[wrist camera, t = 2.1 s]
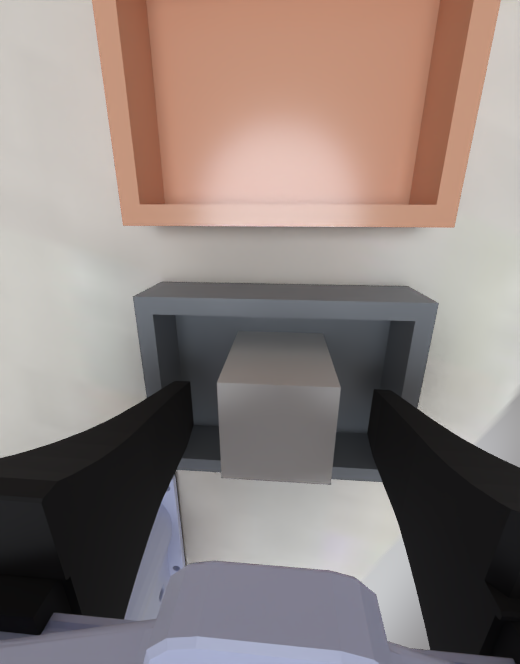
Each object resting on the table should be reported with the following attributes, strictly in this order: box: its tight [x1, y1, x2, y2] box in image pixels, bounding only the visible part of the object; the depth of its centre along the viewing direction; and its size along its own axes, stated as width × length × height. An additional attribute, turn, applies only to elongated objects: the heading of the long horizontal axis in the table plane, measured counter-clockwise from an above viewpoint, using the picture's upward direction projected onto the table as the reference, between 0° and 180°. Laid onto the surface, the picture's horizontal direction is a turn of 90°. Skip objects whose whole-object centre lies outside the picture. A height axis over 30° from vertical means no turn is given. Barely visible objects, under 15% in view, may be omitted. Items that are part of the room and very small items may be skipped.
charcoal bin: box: [133, 282, 439, 482], centre depth 15 cm, size 8×11×3 cm
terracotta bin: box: [92, 0, 501, 227], centre depth 11 cm, size 8×11×3 cm
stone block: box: [217, 331, 341, 485], centre depth 13 cm, size 4×4×5 cm
